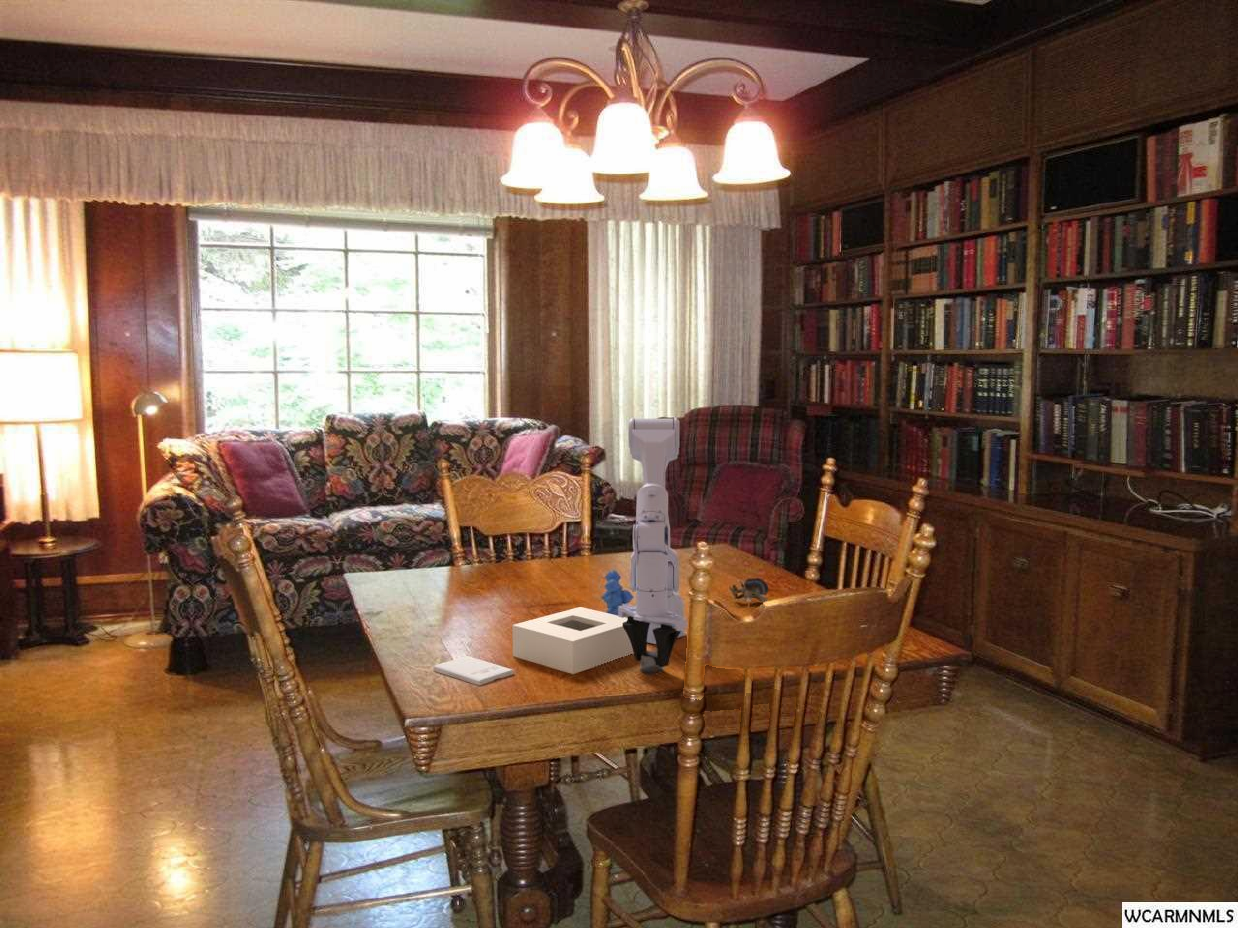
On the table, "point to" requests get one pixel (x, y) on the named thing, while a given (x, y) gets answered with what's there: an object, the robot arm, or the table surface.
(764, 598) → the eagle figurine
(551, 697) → the table surface
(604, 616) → the box
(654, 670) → the dark grey rounded piece
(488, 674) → the external hard drive
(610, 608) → the grapes
